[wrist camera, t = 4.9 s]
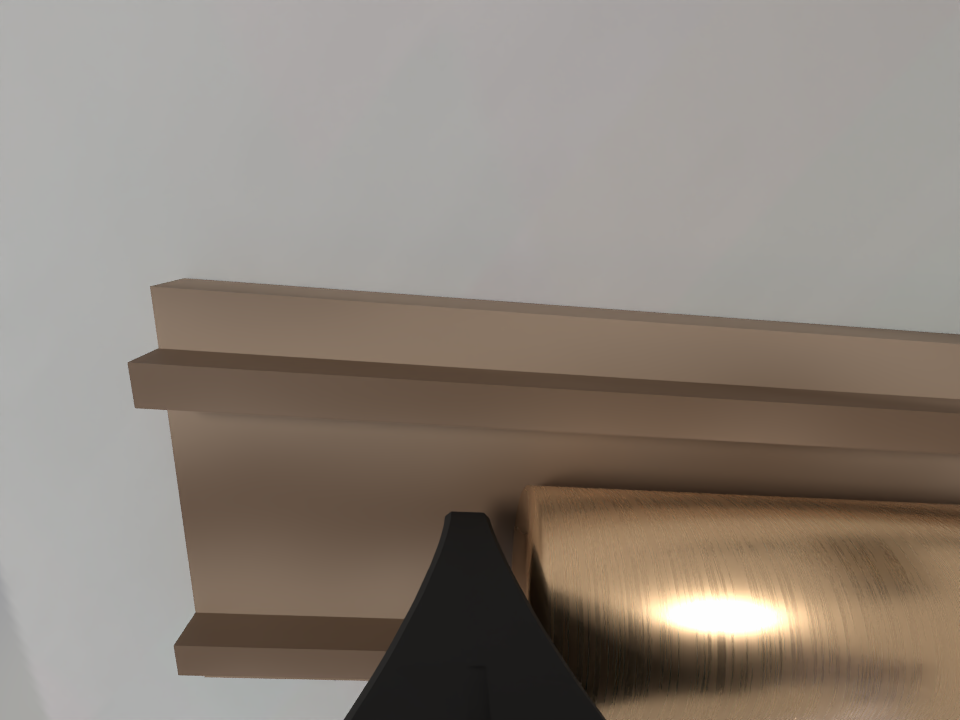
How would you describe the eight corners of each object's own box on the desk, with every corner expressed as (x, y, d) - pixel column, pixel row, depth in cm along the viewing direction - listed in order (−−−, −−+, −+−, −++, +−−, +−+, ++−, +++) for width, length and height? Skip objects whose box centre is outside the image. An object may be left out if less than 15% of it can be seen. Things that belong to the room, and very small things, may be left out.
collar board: (1181, 664, 13) (1806, 1057, 7) (225, 638, 11) (-40, 1119, 5) (1399, 366, 10) (2732, 587, 4) (183, 278, 9) (-450, 430, 3)
